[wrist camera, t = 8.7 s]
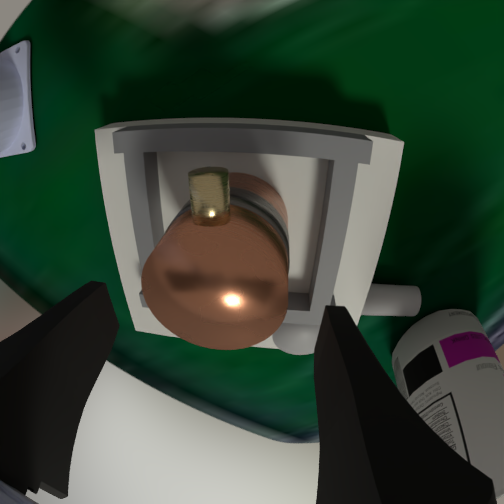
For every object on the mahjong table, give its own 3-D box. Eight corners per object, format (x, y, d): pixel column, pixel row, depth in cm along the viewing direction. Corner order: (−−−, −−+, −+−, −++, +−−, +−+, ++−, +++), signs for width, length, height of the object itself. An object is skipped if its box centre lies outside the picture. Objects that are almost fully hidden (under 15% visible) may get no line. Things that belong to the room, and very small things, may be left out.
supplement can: (467, 285, 18) (549, 465, 5) (478, 341, 21) (528, 482, 8) (376, 335, 21) (407, 529, 8) (405, 380, 24) (429, 525, 11)
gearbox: (144, 312, 22) (128, 345, 19) (113, 122, 15) (78, 136, 12) (392, 332, 21) (403, 367, 18) (452, 148, 13) (485, 167, 10)
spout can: (192, 262, 17) (156, 342, 11) (179, 142, 13) (116, 185, 8) (286, 266, 16) (285, 354, 11) (291, 141, 13) (297, 184, 8)
